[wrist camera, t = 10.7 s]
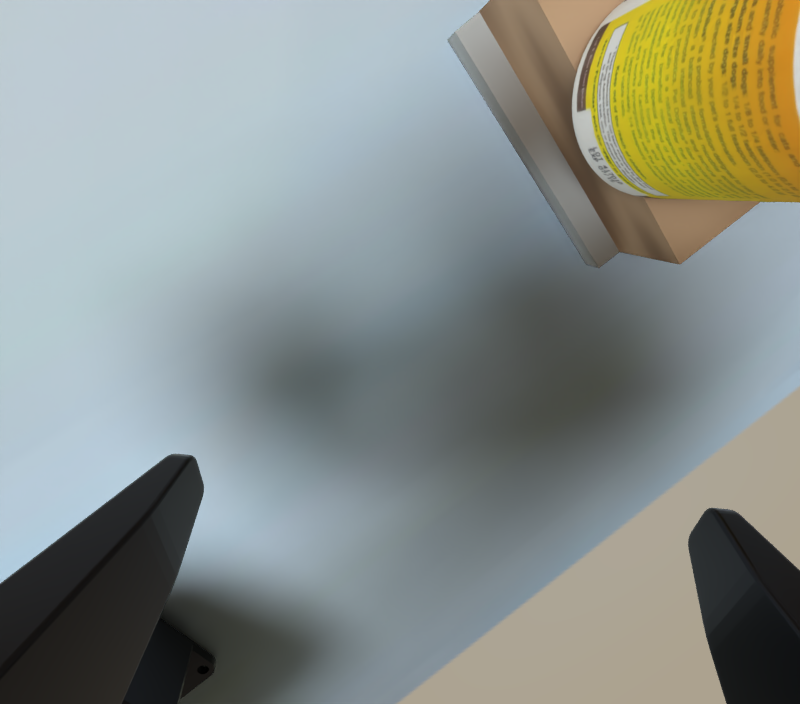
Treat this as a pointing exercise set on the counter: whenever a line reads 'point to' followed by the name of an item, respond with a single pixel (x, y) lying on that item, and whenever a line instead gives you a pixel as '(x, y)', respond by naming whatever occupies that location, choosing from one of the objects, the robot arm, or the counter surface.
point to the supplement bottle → (694, 100)
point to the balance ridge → (572, 131)
